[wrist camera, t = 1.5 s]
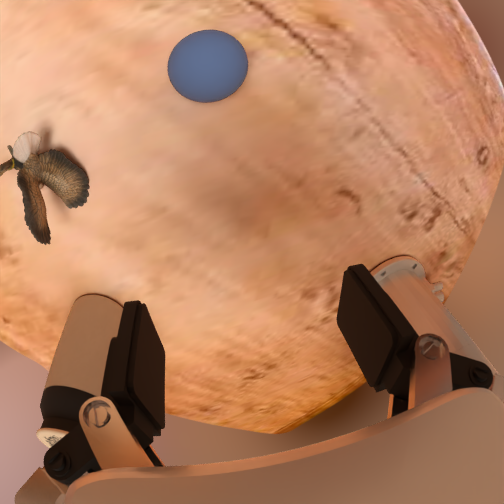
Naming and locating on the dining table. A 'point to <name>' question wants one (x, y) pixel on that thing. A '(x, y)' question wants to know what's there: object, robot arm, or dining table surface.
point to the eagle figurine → (44, 181)
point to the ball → (207, 66)
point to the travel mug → (78, 365)
